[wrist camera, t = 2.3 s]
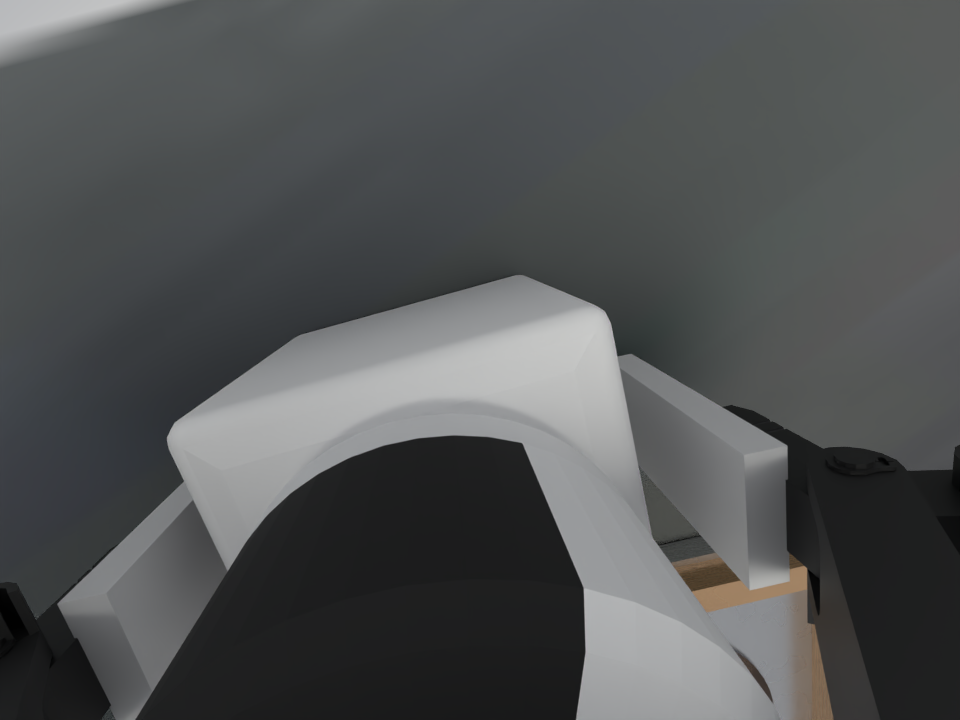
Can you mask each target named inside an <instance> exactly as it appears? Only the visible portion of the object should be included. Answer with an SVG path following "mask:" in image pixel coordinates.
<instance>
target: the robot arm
mask: <svg viewBox="0 0 960 720" xmlns="http://www.w3.org/2000/svg"><path fill="white" fill-rule="evenodd" d="M617 357H618V363H619V368H620V373H621V378H622V383H623V388H624V394H625V399H626V404H627V409H628V414H629V420H630V425H631V430H632V435H633V440H634V445H635V451H636V456H637V461H638V466H639V467H640V468H641V469H642V470H643V471H644V472H645V474H646V475H647V476H648V477H649V478H650V479H651V480H652V481H653V483H654V484H655V485H656V486H657V487H658V488H659V489H660V490H661V491H662V493H663V494H664V495H665V496H666V497H667V498H668V499H669V500H670V502H671V503H672V504H673V505H674V506H675V507H676V508H677V509H678V511H679V512H680V513H681V514H682V515H683V516H684V517H685V518H686V520H687V521H688V522H689V523H690V524H691V525H692V526H693V527H694V528H695V530H696V531H697V532H698V533H699V534H700V535H701V536H702V537H703V539H704V540H705V541H706V542H707V543H708V544H709V545H710V546H711V548H712V549H713V550H714V551H715V552H716V553H717V554H718V555H719V557H720V558H721V559H722V560H723V561H724V562H725V563H726V564H727V566H728V567H729V568H730V569H731V570H732V571H733V572H734V573H735V574H736V576H737V577H738V578H739V579H740V580H741V581H742V582H743V583H744V585H745V586H746V587H747V588H748V589H749V590H754V589H759V588H763V587H767V586H772V585H776V584H780V583H785V582H789V581H790V566H789V553H790V554H792V555H793V556H794V557H795V558H796V559H797V560H798V561H799V562H801V563H802V564H803V565H804V566H805V567H806V568H807V623H809V624H815V629H816V634H817V639H818V644H819V649H820V654H821V659H822V664H823V669H824V674H825V679H826V684H827V689H828V694H829V699H830V704H831V709H832V714H833V719H834V720H960V445H959V446H957V447H955V452H954V462H953V470H926V471H907V470H906V469H905V467H904V466H902V465H901V464H900V463H899V462H898V461H897V460H895V459H893V458H891V457H889V456H887V455H884V454H882V453H878V452H875V451H871V450H867V449H861V448H852V447H830V448H825V449H823V448H821V447H819V446H817V445H815V444H813V443H812V442H810V441H808V440H806V439H804V438H802V437H800V436H799V435H797V434H795V433H793V432H791V431H789V430H788V429H783V427H782V426H780V425H778V424H777V423H775V422H770V420H769V419H767V418H766V417H764V416H762V415H760V414H758V413H756V412H754V411H752V410H748V409H744V408H740V407H736V406H733V405H730V406H725V407H721V406H719V405H718V404H716V403H714V402H712V401H711V400H709V399H707V398H706V397H704V396H702V395H701V394H699V393H697V392H696V391H694V390H692V389H690V388H689V387H687V386H685V385H684V384H682V383H680V382H679V381H677V380H675V379H673V378H672V377H670V376H668V375H667V374H665V373H663V372H662V371H660V370H658V369H657V368H655V367H653V366H651V365H650V364H648V363H646V362H645V361H643V360H641V359H640V358H638V357H636V356H634V355H633V354H627V355H622V356H617ZM92 567H93V569H91V570H88V571H87V572H86V573H85V574H84V575H83V576H82V577H81V578H80V579H79V580H78V583H77V584H74V585H73V586H72V587H71V588H69V589H68V590H67V591H66V592H65V593H64V594H63V595H62V596H61V597H60V598H59V599H58V600H57V601H56V602H55V603H54V604H53V605H52V606H51V607H50V608H49V609H48V610H46V611H45V612H44V613H43V614H42V615H41V616H40V617H39V618H38V619H37V620H36V619H35V617H34V616H33V614H32V612H31V610H30V608H29V606H28V604H27V602H26V600H25V598H24V596H23V595H22V593H21V591H20V589H19V587H18V585H17V583H11V582H5V583H0V720H101V719H102V717H103V716H104V715H105V713H106V712H107V710H108V709H109V708H110V710H111V712H112V714H113V715H114V717H115V719H116V720H135V719H136V718H137V716H138V714H139V713H140V711H141V709H142V708H143V706H144V705H145V703H146V701H147V700H148V698H149V697H150V695H151V693H152V692H153V690H154V689H155V687H156V685H157V684H158V682H159V681H160V679H161V677H162V676H163V674H164V673H165V671H166V669H167V668H168V666H169V665H170V663H171V661H172V660H173V658H174V657H175V655H176V653H177V652H178V650H179V649H180V647H181V645H182V644H183V642H184V641H185V639H186V637H187V636H188V634H189V633H190V631H191V629H192V628H193V626H194V625H195V623H196V621H197V620H198V618H199V617H200V615H201V613H202V612H203V610H204V609H205V607H206V605H207V604H208V602H209V601H210V599H211V597H212V596H213V594H214V593H215V591H216V589H217V588H218V586H219V584H220V583H221V581H222V580H223V578H224V576H225V575H226V573H227V572H228V571H227V569H226V567H225V565H224V563H223V560H222V558H221V556H220V554H219V552H218V550H217V548H216V546H215V544H214V542H213V540H212V538H211V536H210V534H209V531H208V529H207V527H206V525H205V523H204V521H203V519H202V517H201V515H200V513H199V511H198V509H197V507H196V505H195V502H194V500H193V498H192V496H191V494H190V492H189V490H188V488H187V486H186V484H185V482H183V483H182V484H181V485H180V486H179V487H178V488H177V489H176V490H175V491H174V492H173V493H171V494H170V495H169V496H168V497H167V498H166V499H165V500H164V501H163V502H162V503H161V504H160V505H159V506H158V507H157V508H156V509H155V510H154V511H153V512H152V513H151V514H150V515H149V516H148V517H147V518H146V519H145V520H144V521H142V522H141V523H140V524H139V525H138V526H137V527H136V528H135V529H134V530H133V531H132V532H131V533H130V534H129V535H128V536H127V537H126V538H125V539H124V540H123V541H122V542H121V543H119V544H118V545H116V546H115V547H113V548H112V549H110V550H109V551H108V552H107V553H106V554H105V555H104V556H103V557H102V558H101V559H100V560H99V561H98V562H97V563H96V564H95V565H94V566H92Z"/></svg>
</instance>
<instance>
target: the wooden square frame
mask: <svg viewBox="0 0 960 720" xmlns="http://www.w3.org/2000/svg"><path fill="white" fill-rule="evenodd" d="M659 547H660V549H661V550H662V551H663V553H664V554H665V556H666V557H667V558H668V560H669V561H670V562H671V564H672V565H673V567H674V568H675V569H676V571H677V572H678V574H679V575H680V576H681V578H682V579H683V580H684V582H685V583H686V585H687V586H688V587H689V589H690V590H691V591H692V593H693V594H694V596H695V597H696V598H697V600H698V601H699V602H700V604H701V605H702V607H703V608H704V609H705V611H706V612H707V614H708V615H709V616H710V618H711V619H712V620H713V622H714V623H715V625H716V626H717V627H718V629H719V630H720V631H721V633H722V634H723V636H724V637H725V638H726V640H727V641H728V642H729V644H730V645H731V647H732V648H733V649H734V651H735V652H736V653H737V655H738V656H739V658H740V659H741V660H742V662H743V663H744V665H745V666H746V667H747V669H748V670H749V671H750V673H751V674H752V676H753V677H754V678H755V680H756V681H757V682H758V684H759V685H760V687H761V688H762V689H763V691H764V692H765V693H766V695H767V696H768V698H769V699H770V700H771V702H772V703H773V704H774V706H775V708H776V710H777V712H778V714H779V716H780V718H781V720H834V719H833V714H832V709H831V704H830V699H829V694H828V689H827V684H826V679H825V674H824V669H823V664H822V659H821V654H820V649H819V644H818V639H817V634H816V629H815V624H809V623H807V568H806V567H805V566H804V565H803V564H802V563H801V562H799V561H798V560H797V559H796V558H795V557H794V556H793V555H792V554H790V553H789V566H790V581H789V582H785V583H780V584H776V585H772V586H767V587H763V588H759V589H754V590H749V589H748V588H747V587H746V586H745V585H744V583H743V582H742V581H741V580H740V579H739V578H738V577H737V576H736V574H735V573H734V572H733V571H732V570H731V569H730V568H729V567H728V566H727V564H726V563H725V562H724V561H723V560H722V559H721V558H720V557H719V555H718V554H717V553H716V552H715V551H714V550H713V549H712V548H711V546H710V545H709V544H708V543H707V542H706V541H705V540H704V539H703V537H702V536H699V537H695V538H690V539H686V540H681V541H677V542H672V543H668V544H663V545H659Z"/></svg>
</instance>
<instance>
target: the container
mask: <svg viewBox="0 0 960 720" xmlns="http://www.w3.org/2000/svg"><path fill="white" fill-rule="evenodd" d="M167 443H168V449H169V451H170V453H171V455H172V457H173V459H174V461H175V463H176V465H177V467H178V469H179V471H180V473H181V476H182V478H183V480H184V482H185V484H186V486H187V488H188V490H189V492H190V494H191V496H192V498H193V500H194V502H195V505H196V507H197V509H198V511H199V513H200V515H201V517H202V519H203V521H204V523H205V525H206V527H207V529H208V531H209V534H210V536H211V538H212V540H213V542H214V544H215V546H216V548H217V550H218V552H219V554H220V556H221V558H222V560H223V563H224V565H225V567H226V569H227V571H228V572H227V573H226V575H225V576H224V578H223V580H222V581H221V583H220V584H219V586H218V588H217V589H216V591H215V593H214V594H213V596H212V597H211V599H210V601H209V602H208V604H207V605H206V607H205V609H204V610H203V612H202V613H201V615H200V617H199V618H198V620H197V621H196V623H195V625H194V626H193V628H192V629H191V631H190V633H189V634H188V636H187V637H186V639H185V641H184V642H183V644H182V645H181V647H180V649H179V650H178V652H177V653H176V655H175V657H174V658H173V660H172V661H171V663H170V665H169V666H168V668H167V669H166V671H165V673H164V674H163V676H162V677H161V679H160V681H159V682H158V684H157V685H156V687H155V689H154V690H153V692H152V693H151V695H150V697H149V698H148V700H147V701H146V703H145V705H144V706H143V708H142V709H141V711H140V713H139V714H138V716H137V718H136V719H135V720H781V718H780V716H779V714H778V712H777V710H776V708H775V706H774V704H773V703H772V702H771V700H770V699H769V698H768V696H767V695H766V693H765V692H764V691H763V689H762V688H761V687H760V685H759V684H758V682H757V681H756V680H755V678H754V677H753V676H752V674H751V673H750V671H749V670H748V669H747V667H746V666H745V665H744V663H743V662H742V660H741V659H740V658H739V656H738V655H737V653H736V652H735V651H734V649H733V648H732V647H731V645H730V644H729V642H728V641H727V640H726V638H725V637H724V636H723V634H722V633H721V631H720V630H719V629H718V627H717V626H716V625H715V623H714V622H713V620H712V619H711V618H710V616H709V615H708V614H707V612H706V611H705V609H704V608H703V607H702V605H701V604H700V602H699V601H698V600H697V598H696V597H695V596H694V594H693V593H692V591H691V590H690V589H689V587H688V586H687V585H686V583H685V582H684V580H683V579H682V578H681V576H680V575H679V574H678V572H677V571H676V569H675V568H674V567H673V565H672V564H671V562H670V561H669V560H668V558H667V557H666V556H665V554H664V553H663V551H662V550H661V549H660V547H659V546H658V545H657V543H656V542H655V540H654V539H653V538H652V533H651V528H650V523H649V518H648V513H647V507H646V502H645V497H644V492H643V487H642V482H641V476H640V471H639V466H638V461H637V456H636V451H635V445H634V440H633V435H632V430H631V425H630V420H629V414H628V409H627V404H626V399H625V394H624V388H623V383H622V378H621V373H620V368H619V363H618V357H617V352H616V347H615V342H614V337H613V332H612V326H611V323H610V321H609V319H608V317H607V315H606V313H605V311H604V310H602V309H600V308H599V307H597V306H596V305H593V304H591V303H589V302H586V301H584V300H581V299H579V298H577V297H574V296H572V295H570V294H567V293H565V292H562V291H560V290H558V289H555V288H553V287H550V286H548V285H546V284H543V283H541V282H538V281H536V280H534V279H531V278H529V277H526V276H524V275H514V276H511V277H507V278H504V279H500V280H496V281H493V282H489V283H486V284H482V285H478V286H475V287H471V288H468V289H464V290H460V291H457V292H453V293H450V294H446V295H442V296H439V297H435V298H431V299H428V300H424V301H421V302H417V303H413V304H410V305H406V306H403V307H399V308H395V309H392V310H388V311H385V312H381V313H377V314H374V315H370V316H367V317H363V318H359V319H356V320H352V321H348V322H345V323H341V324H338V325H334V326H330V327H327V328H323V329H320V330H316V331H312V332H309V333H305V334H302V335H299V336H297V337H295V338H294V339H292V340H291V341H289V342H288V343H287V344H285V345H284V346H282V347H281V348H280V349H278V350H277V351H275V352H274V353H272V354H271V355H270V356H268V357H267V358H265V359H264V360H263V361H261V362H260V363H258V364H257V365H255V366H254V367H253V368H251V369H250V370H248V371H247V372H246V373H244V374H243V375H241V376H240V377H238V378H237V379H236V380H234V381H233V382H231V383H230V384H229V385H227V386H226V387H224V388H223V389H221V390H220V391H219V392H217V393H216V394H214V395H213V396H212V397H210V398H209V399H207V400H206V401H204V402H203V403H202V404H200V405H199V406H197V407H196V408H195V409H193V410H192V411H190V412H189V413H187V414H186V415H185V416H183V417H182V418H180V419H179V420H178V421H176V422H175V423H174V425H173V427H172V428H171V430H170V432H169V435H168V437H167Z"/></svg>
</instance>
